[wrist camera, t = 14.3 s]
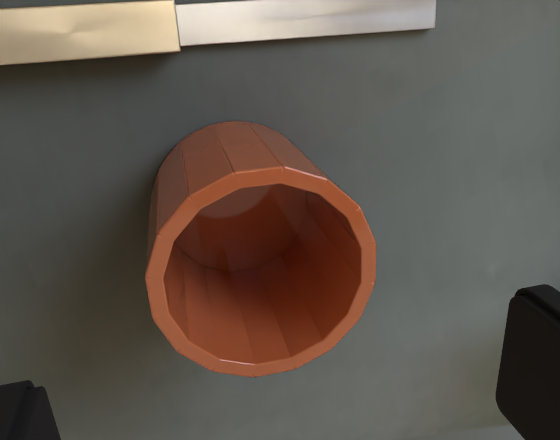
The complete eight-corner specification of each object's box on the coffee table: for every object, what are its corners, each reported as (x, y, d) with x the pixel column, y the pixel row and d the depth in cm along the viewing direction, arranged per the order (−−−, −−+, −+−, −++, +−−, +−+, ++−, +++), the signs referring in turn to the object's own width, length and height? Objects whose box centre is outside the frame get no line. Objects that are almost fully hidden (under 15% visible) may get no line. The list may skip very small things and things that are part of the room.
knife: (-27, 65, 17) (-40, 68, 16) (-42, 11, 16) (-56, 11, 15) (431, 32, 20) (446, 32, 19) (433, -15, 19) (449, -17, 18)
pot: (164, 285, 22) (165, 395, 15) (139, 129, 19) (127, 184, 13) (315, 261, 23) (374, 355, 16) (311, 112, 20) (378, 154, 14)
